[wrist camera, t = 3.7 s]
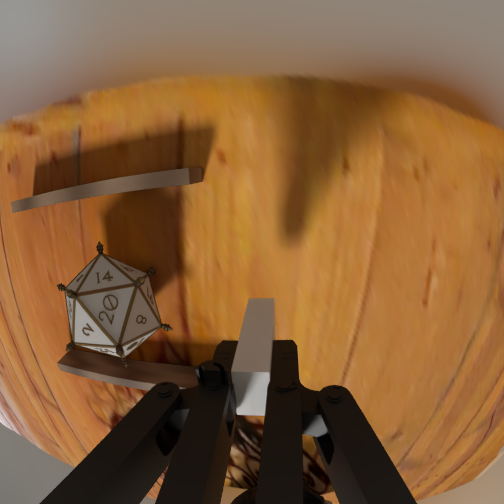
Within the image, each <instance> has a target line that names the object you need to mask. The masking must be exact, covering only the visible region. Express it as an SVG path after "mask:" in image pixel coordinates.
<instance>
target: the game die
mask: <svg viewBox="0 0 504 504" xmlns="http://www.w3.org/2000/svg"><path fill="white" fill-rule="evenodd" d="M97 250H98V253H99V254H98V255H97V256H96V257H95V258H94V259H93V260H92V261H91V262H90V263H89V264H88V265H87V266H86V267H85V268H84V269H83V270H82V271H81V272H80V273H79V274H78V275H77V276H76V277H75V278H74V279H73V280H72V281H71V282H70V283H69V284H68V285H67V287H65V286H64V285H62V283H61V284H59V285H57V287H58V289H59V290H61V291H65V298H66V306H67V313H68V320H69V326H70V332H71V337H72V342H71V343H69V344H68V345H67V347H66V351H72V349H74V346H75V345H77V346H80V347H84V348H87V349H90V350H94V351H97V352H101V353H104V354H108V355H112V356H116V357H120V358H122V360H121V361H122V364H123V365H125V366H126V367H127V365H128V363H129V362H128V361H127V360H128V359H126V356H128V355H129V354H130V353H131V352H132V351H134V350H135V349H136V348H137V347H138V346H140V345H141V344H142V343H143V342H144V341H146V340H147V339H148V338H149V337H150V336H152V335H153V334H154V333H155V332H156V331H158V330H159V329H160V328H162V329H164V330H166V331H169V330H173V329H172V328H171V327H170V325H167V324H166V323H165V324H162V322H161V319H160V315H159V312H158V308H157V305H156V301H155V297H154V293H153V289H152V285H151V281H150V277H149V276H150V275H152V274H153V273H155V268H156V267H155V268H150V269H149V270H148V271H147V273H146V272H143V271H141V270H139V269H137V268H134V267H132V266H130V265H128V264H126V263H123V262H121V261H119V260H117V259H115V258H112V257H110V256H108V255H106V254H104V253H103V245H102V244H101V243H100V241H99V242H98V245H97Z"/></svg>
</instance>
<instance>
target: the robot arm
mask: <svg viewBox="0 0 504 504" xmlns="http://www.w3.org/2000/svg"><path fill="white" fill-rule="evenodd" d="M195 370H196V374H197V379H198V383H199V384H198V385H197V386H195V387H191V388H184V389H180V388H179V387H178V385H177V384H175V383H173V382H161V383H158V384H156V385H155V386H153V387H152V388H151V389H150V390H149V391H148V392H147V393H146V394H145V396H144V397H143V398H142V399H141V400H140V401H139V402H138V403H137V404H136V405H135V406H134V407H133V408H132V409H131V410H130V412H129V413H128V414H127V415H126V416H125V417H124V418H123V419H122V420H121V421H120V422H119V423H118V424H117V425H116V426H115V427H114V428H113V429H112V430H111V431H110V433H109V434H108V435H107V436H106V437H105V438H104V439H103V440H102V441H101V442H100V443H99V444H98V445H97V446H96V447H95V448H94V449H93V450H92V451H91V452H90V453H89V454H88V455H87V456H86V457H85V458H84V459H83V460H82V461H81V463H80V464H79V465H78V466H77V467H76V468H75V469H74V470H73V471H72V472H71V473H70V474H69V475H68V476H67V477H66V478H65V479H64V480H63V481H62V482H61V483H60V484H59V485H58V486H57V487H56V488H55V489H54V490H53V491H52V492H51V493H50V494H49V495H48V496H47V497H46V498H45V499H44V500H43V501H42V502H41V503H40V504H140V502H141V501H142V500H143V498H144V497H145V496H146V494H147V493H148V492H149V490H150V489H151V488H152V486H153V485H154V484H155V482H156V481H157V480H158V478H159V477H160V476H161V474H162V473H163V471H164V470H165V469H166V467H167V466H168V465H169V466H168V469H167V472H166V475H165V478H164V480H163V483H162V486H161V489H160V491H159V494H158V497H157V500H156V503H155V504H220V502H221V497H222V492H223V487H224V482H225V477H226V472H227V467H228V462H229V456H230V451H231V446H232V441H233V436H234V430H235V425H236V421H235V413H236V410H237V415H259V416H265V418H264V429H263V439H262V448H261V458H260V467H259V476H258V484H257V493H256V501H255V504H303V446H302V434H305V435H310V436H313V439H314V441H315V444H316V446H317V449H318V451H319V454H320V456H321V459H322V461H323V464H324V466H325V469H326V471H327V474H328V476H329V479H330V481H331V484H332V486H333V489H334V491H335V494H336V496H337V498H338V501H339V503H340V504H417V503H416V501H415V499H414V498H413V496H412V494H411V493H410V491H409V489H408V488H407V486H406V484H405V482H404V481H403V479H402V477H401V476H400V474H399V472H398V471H397V469H396V467H395V466H394V464H393V462H392V461H391V459H390V457H389V456H388V454H387V452H386V451H385V449H384V447H383V446H382V444H381V442H380V441H379V439H378V437H377V436H376V434H375V432H374V431H373V429H372V427H371V426H370V424H369V422H368V421H367V419H366V417H365V416H364V414H363V413H362V411H361V409H360V408H359V406H358V404H357V403H356V401H355V399H354V398H353V396H352V394H351V393H350V392H349V391H348V389H347V388H344V387H342V386H338V385H331V386H327V387H324V388H323V389H322V390H321V391H320V392H319V391H314V390H310V389H308V388H306V387H304V386H303V385H302V384H301V383H300V380H299V369H298V352H297V345H296V344H295V342H294V341H293V340H275V302H274V298H251V299H249V300H248V304H247V308H246V312H245V316H244V320H243V324H242V329H241V333H240V337H239V341H227V340H223V341H222V342H221V343H220V344H219V345H218V346H217V348H216V351H215V354H214V356H213V359H212V361H206V362H203V363H201V364H200V365H198V366H197V368H196V369H195ZM169 463H170V464H169Z"/></svg>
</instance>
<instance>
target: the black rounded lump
mask: <svg viewBox="0 0 504 504" xmlns="http://www.w3.org/2000/svg"><path fill="white" fill-rule="evenodd" d="M256 493H257V486H254V487H252V488H250V489H248V490H246V491H245V492H243V493H242V494H240V495H239V496H238V497H236V498H235V499H234V500H233V501H232V503H231V504H255V501H256ZM303 504H332V502H330V501H327V500H325V499H324V498H323V496H320V495H318V494H317V493H315V492H314V491H312V490H311V489H310V488H309V483H308V482H307V481H304V480H303Z"/></svg>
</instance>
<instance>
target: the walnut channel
mask: <svg viewBox="0 0 504 504" xmlns="http://www.w3.org/2000/svg"><path fill="white" fill-rule="evenodd" d="M198 182H203V181H202V167H200V168H184V169H175V170H167V171H160V172H153V173H146V174H139V175H133V176H126V177H120V178H115V179H109V180H104V181H98V182H93V183H88V184H83V185H78V186H74V187H69V188H65V189H60V190H56V191H52V192H48V193H44V194H40V195H36V196H32V197H28V198H24V199H21V200H17V201H14V202H11V205H12V213H15V212H19V211H23V210H28V209H32V208H37V207H42V206H46V205H51V204H56V203H61V202H67V201H72V200H78V199H83V198H89V197H95V196H102V195H108V194H115V193H121V192H129V191H136V190H144V189H152V188H160V187H169V186H179V185H189V184H194V183H198ZM121 360H122V358H118V357H112V356H106V355H101V354H95V353H90V352H85V351H80V350H75V349H72V351H68V352H67V353H66V354H65V355H64V356H63V357H62V358H61V359H60V360H59V362H58V363H57V364H58V366H59V368H60V370H61V371H65V372H68V373H72V374H75V375H79V376H83V377H86V378H90V379H94V380H98V381H103V382H107V383H112V384H116V385H121V386H126V387H131V388H137V389H142V390H148V391H149V390H150V389H151V388H152V387H153V386H155V385H156V384H158V383H161V382H173V383H175V384H177V385H178V387H179V388H180V389H184V388H191V387H195V386H197V385H198V384H199V383H198V379H197V374H196V370H195V369H196V368H197V367H194V366H182V365H171V364H162V363H153V362H145V361H138V360H131V359H128V360H127V361H128V362H129V363H128V365H127V367H126V366H125V365H123V364H122V361H121Z"/></svg>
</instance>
